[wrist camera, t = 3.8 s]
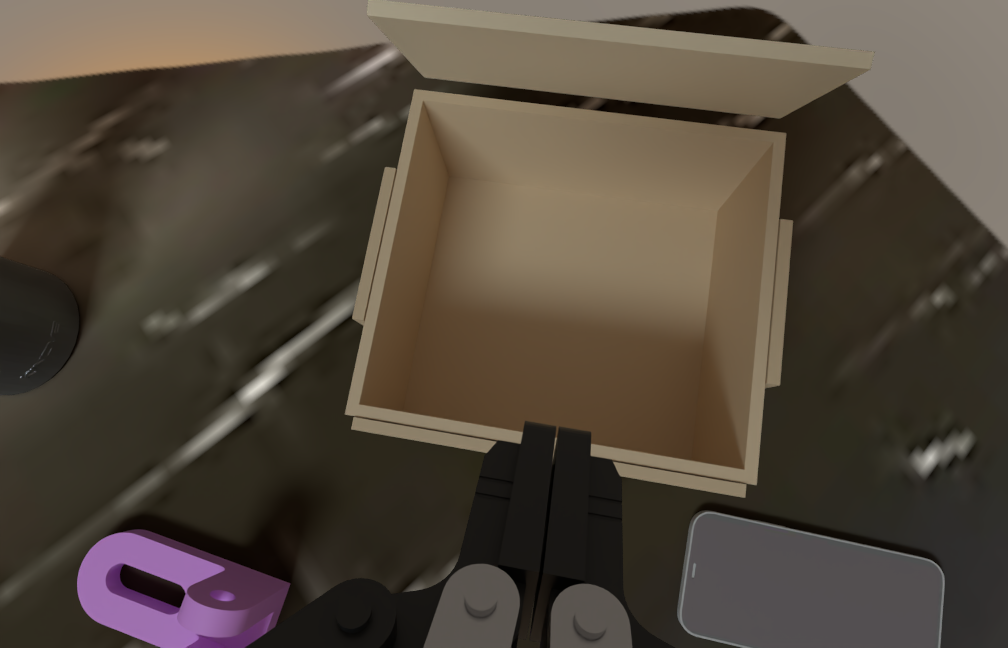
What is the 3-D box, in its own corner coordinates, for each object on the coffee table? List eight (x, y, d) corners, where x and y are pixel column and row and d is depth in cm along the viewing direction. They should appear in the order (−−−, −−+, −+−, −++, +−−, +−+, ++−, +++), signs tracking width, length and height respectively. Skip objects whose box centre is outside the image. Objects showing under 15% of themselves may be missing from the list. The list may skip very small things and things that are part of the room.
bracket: (291, 582, 37) (235, 617, 30) (259, 672, 36) (193, 729, 29) (115, 517, 38) (23, 536, 31) (80, 602, 37) (-23, 640, 30)
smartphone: (936, 694, 33) (676, 633, 34) (925, 687, 34) (672, 627, 35) (946, 562, 34) (694, 507, 35) (935, 558, 35) (690, 505, 36)
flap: (367, 15, 22) (368, -2, 22) (424, 77, 31) (425, 65, 31) (870, 69, 21) (874, 51, 20) (779, 118, 29) (782, 106, 29)
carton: (383, 426, 38) (328, 425, 28) (435, 169, 41) (402, 86, 31) (706, 482, 36) (770, 502, 26) (733, 208, 39) (800, 133, 29)
